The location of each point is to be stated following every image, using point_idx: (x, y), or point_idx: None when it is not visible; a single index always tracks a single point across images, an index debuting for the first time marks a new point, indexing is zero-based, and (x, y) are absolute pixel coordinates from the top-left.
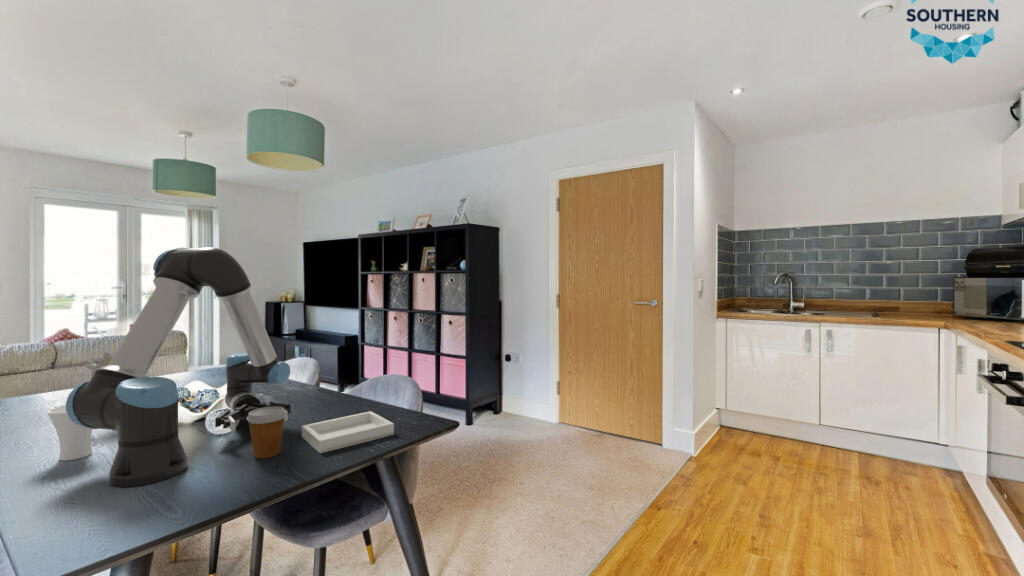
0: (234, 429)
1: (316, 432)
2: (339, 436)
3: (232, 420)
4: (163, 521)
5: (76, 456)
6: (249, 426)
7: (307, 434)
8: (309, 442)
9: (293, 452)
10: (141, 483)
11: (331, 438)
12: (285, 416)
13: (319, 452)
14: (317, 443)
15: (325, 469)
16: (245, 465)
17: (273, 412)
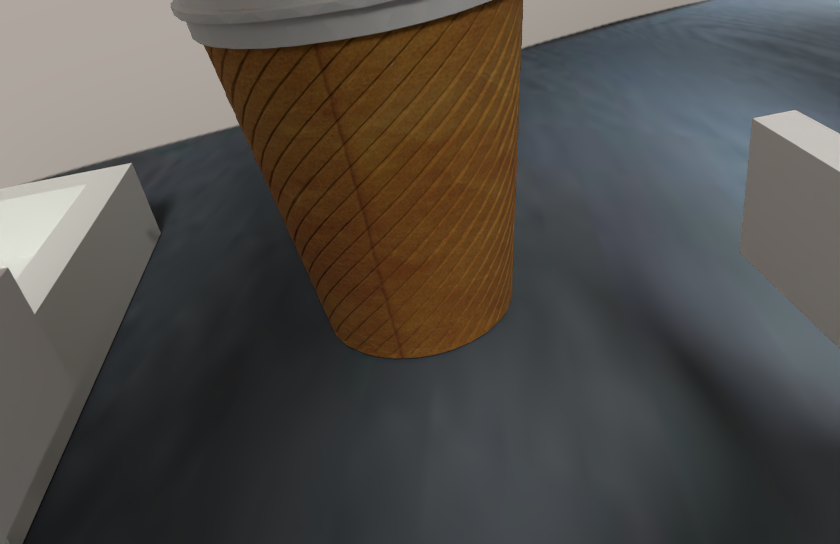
0: (752, 230)
1: (31, 259)
2: (8, 188)
3: (830, 143)
4: (740, 22)
5: None
6: (521, 33)
7: (55, 340)
8: (97, 353)
9: (264, 278)
10: None
11: (60, 178)
12: (35, 334)
13: (157, 235)
14: (131, 211)
15: (239, 136)
16: (557, 209)
17: None
